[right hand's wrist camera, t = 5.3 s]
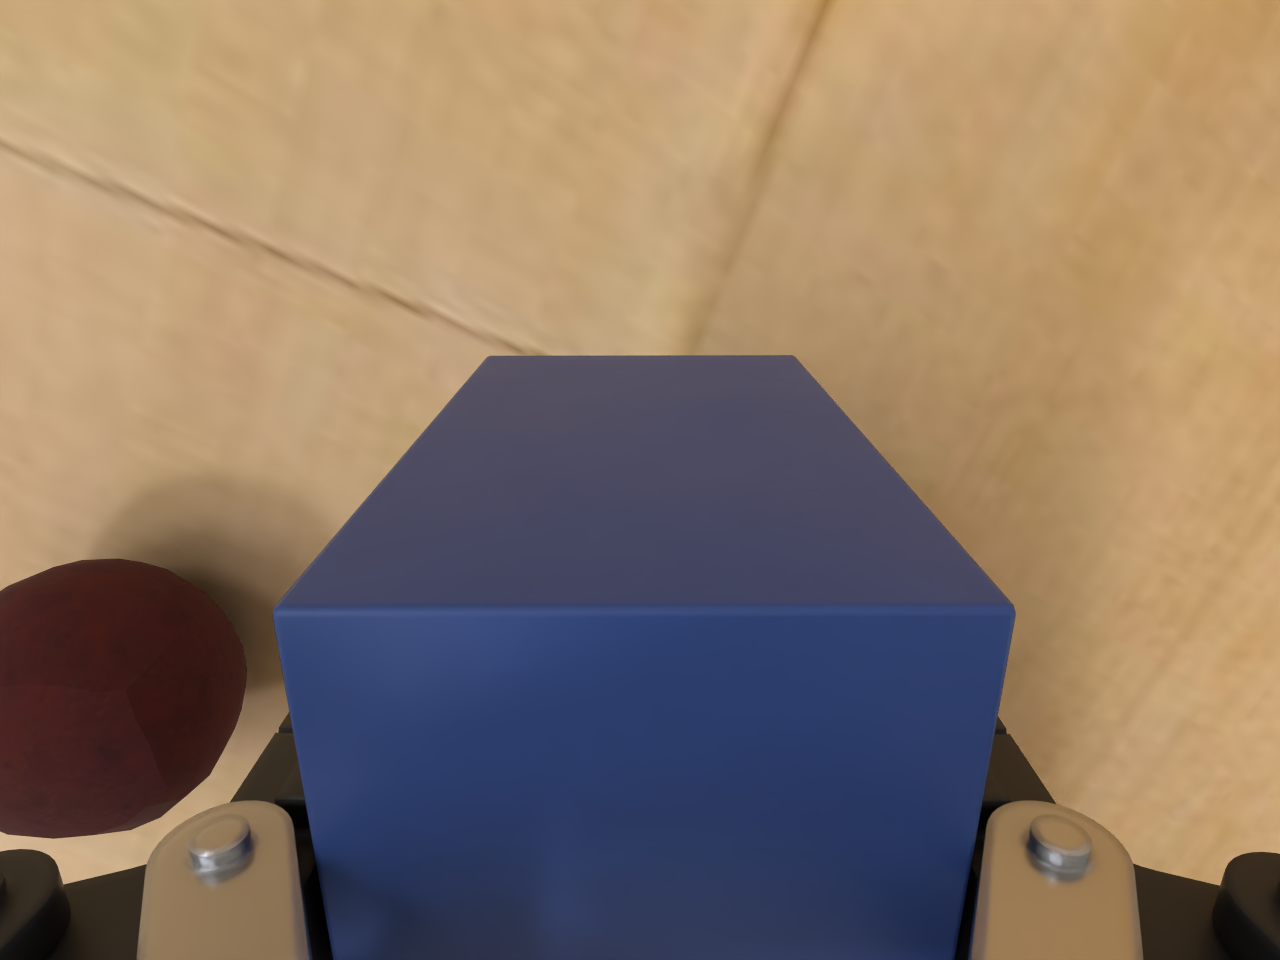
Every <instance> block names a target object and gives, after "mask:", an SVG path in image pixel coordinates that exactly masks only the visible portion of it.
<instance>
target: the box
mask: <svg viewBox="0 0 1280 960" xmlns="http://www.w3.org/2000/svg"><path fill="white" fill-rule="evenodd" d="M273 621H274V626H275V632H276V638H277V643H278V649H279V655H280V660H281V666H282V672H283V678H284V683H285V689H286V695H287V700H288V706H289V712H290V717H291V723H292V729H293V734H294V740H295V746H296V751H297V757H298V763H299V768H300V774H301V780H302V785H303V791H304V797H305V802H306V808H307V814H308V819H309V825H310V831H311V836H312V842H313V848H314V853H315V859H316V865H317V870H318V876H319V882H320V887H321V893H322V899H323V904H324V910H325V916H326V921H327V927H328V933H329V938H330V944H331V950H332V955H333V960H954V959H955V953H956V948H957V942H958V936H959V931H960V925H961V919H962V914H963V908H964V903H965V897H966V891H967V886H968V880H969V874H970V869H971V863H972V857H973V852H974V846H975V841H976V835H977V829H978V824H979V818H980V812H981V807H982V801H983V795H984V790H985V784H986V778H987V773H988V767H989V762H990V756H991V750H992V745H993V739H994V733H995V728H996V722H997V716H998V711H999V705H1000V700H1001V694H1002V688H1003V683H1004V677H1005V671H1006V666H1007V660H1008V654H1009V649H1010V643H1011V638H1012V632H1013V626H1014V621H1015V609H1014V606H1013V604H1012V603H1011V602H1010V601H1009V600H1008V598H1007V597H1006V596H1005V595H1004V594H1003V593H1002V592H1001V590H1000V589H999V588H998V587H997V586H996V585H995V584H994V583H993V581H992V580H991V579H990V578H989V577H988V576H987V575H986V573H985V572H984V571H983V570H982V569H981V568H980V567H979V565H978V564H977V563H976V562H975V561H974V560H973V559H972V557H971V556H970V555H969V554H968V553H967V552H966V551H965V550H964V548H963V547H962V546H961V545H960V544H959V543H958V542H957V540H956V539H955V538H954V537H953V536H952V535H951V534H950V532H949V531H948V530H947V529H946V528H945V527H944V526H943V525H942V523H941V522H940V521H939V520H938V519H937V518H936V517H935V515H934V514H933V513H932V512H931V511H930V510H929V509H928V507H927V506H926V505H925V504H924V503H923V502H922V501H921V499H920V498H919V497H918V496H917V495H916V494H915V493H914V492H913V490H912V489H911V488H910V487H909V486H908V485H907V484H906V482H905V481H904V480H903V479H902V478H901V477H900V476H899V474H898V473H897V472H896V471H895V470H894V469H893V468H892V467H891V465H890V464H889V463H888V462H887V461H886V460H885V459H884V457H883V456H882V455H881V454H880V453H879V452H878V451H877V449H876V448H875V447H874V446H873V445H872V444H871V443H870V442H869V440H868V439H867V438H866V437H865V436H864V435H863V434H862V432H861V431H860V430H859V429H858V428H857V427H856V426H855V424H854V423H853V422H852V421H851V420H850V419H849V418H848V416H847V415H846V414H845V413H844V412H843V411H842V410H841V409H840V407H839V406H838V405H837V404H836V403H835V402H834V401H833V399H832V398H831V397H830V396H829V395H828V394H827V393H826V391H825V390H824V389H823V388H822V387H821V386H820V385H819V384H818V382H817V381H816V380H815V379H814V378H813V377H812V376H811V374H810V373H809V372H808V371H807V370H806V369H805V368H804V366H803V365H802V364H801V363H800V362H799V361H798V360H797V359H796V357H794V356H792V355H777V356H489V357H487V358H486V359H485V360H484V362H483V363H482V364H481V365H480V366H479V367H478V369H477V370H476V371H475V372H474V373H473V374H472V376H471V377H470V378H469V379H468V380H467V381H466V383H465V384H464V385H463V386H462V387H461V389H460V390H459V391H458V392H457V393H456V394H455V396H454V397H453V398H452V399H451V400H450V401H449V403H448V404H447V405H446V406H445V407H444V408H443V410H442V411H441V412H440V413H439V414H438V415H437V417H436V418H435V419H434V420H433V421H432V423H431V424H430V425H429V426H428V427H427V428H426V430H425V431H424V432H423V433H422V434H421V435H420V437H419V438H418V439H417V440H416V441H415V442H414V444H413V445H412V446H411V447H410V448H409V450H408V451H407V452H406V453H405V454H404V455H403V457H402V458H401V459H400V460H399V461H398V462H397V464H396V465H395V466H394V467H393V468H392V469H391V471H390V472H389V473H388V474H387V475H386V476H385V478H384V479H383V480H382V481H381V482H380V484H379V485H378V486H377V487H376V488H375V489H374V491H373V492H372V493H371V494H370V495H369V496H368V498H367V499H366V500H365V501H364V502H363V503H362V505H361V506H360V507H359V508H358V509H357V510H356V512H355V513H354V514H353V515H352V516H351V518H350V519H349V520H348V521H347V522H346V523H345V525H344V526H343V527H342V528H341V529H340V530H339V532H338V533H337V534H336V535H335V536H334V537H333V539H332V540H331V541H330V542H329V543H328V544H327V546H326V547H325V548H324V549H323V550H322V552H321V553H320V554H319V555H318V556H317V557H316V559H315V560H314V561H313V562H312V563H311V564H310V566H309V567H308V568H307V569H306V570H305V571H304V573H303V574H302V575H301V576H300V577H299V579H298V580H297V581H296V582H295V583H294V584H293V586H292V587H291V588H290V589H289V590H288V591H287V593H286V594H285V595H284V596H283V597H282V598H281V600H280V601H279V602H278V603H277V604H276V605H275V607H274V611H273Z"/></svg>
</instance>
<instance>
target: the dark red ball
mask: <svg viewBox="0 0 1280 960" xmlns="http://www.w3.org/2000/svg"><path fill="white" fill-rule="evenodd" d="M246 675H247V668H246V663H245V657H244V652H243V646H242V644H241V642H240V640H239V638H238V636H237V635H236V633H235V631H234V629H233V627H232V626H231V624H230V622H229V620H228V618H227V617H226V615H225V614H224V612H223V611H222V610H221V609H220V608H219V607H218V606H217V604H216V603H215V602H214V601H213V600H212V599H210V598H209V597H208V596H207V595H206V594H204V593H203V592H202V591H201V590H199V589H198V588H196V587H195V586H193V585H192V584H190V583H189V582H187V581H185V580H184V579H182V578H180V577H179V576H177V575H176V574H174V573H172V572H171V571H169V570H167V569H164V568H160V567H157V566H153V565H150V564H146V563H142V562H136V561H130V560H124V559H100V560H81V561H77V562H73V563H69V564H65V565H61V566H57V567H53V568H51V569H48V570H46V571H43V572H41V573H38V574H36V575H34V576H31V577H29V578H26V579H24V580H21V581H19V582H17V583H14V584H12V585H9V586H7V587H6V588H4V589H3V590H2V591H0V831H1V832H3V833H5V834H9V835H20V836H31V837H42V838H53V839H54V838H65V837H77V836H88V835H97V834H104V833H112V832H119V831H126V830H132V829H134V828H136V827H139V826H141V825H144V824H146V823H148V822H151V821H153V820H155V819H158V818H160V817H161V816H163V815H164V814H165V813H166V812H167V811H169V810H170V809H171V808H172V807H173V806H175V805H176V804H177V803H178V802H179V801H181V800H182V799H183V798H184V797H185V796H187V795H188V794H189V793H190V792H191V791H192V790H193V789H195V788H196V787H197V786H198V785H199V784H200V783H201V782H202V781H204V780H205V779H206V778H207V777H208V776H209V775H210V774H211V772H212V770H213V768H214V766H215V765H216V763H217V761H218V759H219V757H220V756H221V754H222V752H223V750H224V748H225V746H226V745H227V743H228V741H229V739H230V737H231V735H232V733H233V731H234V729H235V727H236V724H237V721H238V718H239V715H240V712H241V709H242V703H243V698H244V692H245V687H246Z"/></svg>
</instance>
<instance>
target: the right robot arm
mask: <svg viewBox="0 0 1280 960" xmlns="http://www.w3.org/2000/svg"><path fill="white" fill-rule="evenodd" d="M0 960H333V955H332V950H331V944H330V938H329V933H328V927H327V921H326V916H325V910H324V904H323V899H322V893H321V887H320V882H319V876H318V870H317V865H316V859H315V853H314V848H313V842H312V836H311V831H310V825H309V819H308V814H307V808H306V802H305V797H304V791H303V785H302V780H301V774H300V768H299V763H298V757H297V751H296V746H295V740H294V734H293V729H292V723H291V717H290V712H289V713H288V715H287V716H286V718H285V719H284V721H283V722H282V724H281V725H280V727H279V733H275V735H274V736H273V738H272V739H271V741H270V742H269V744H268V745H267V747H266V748H265V750H264V751H263V753H262V754H261V756H260V757H259V759H258V760H257V762H256V763H255V765H254V767H253V768H252V770H251V771H250V773H249V774H248V776H247V777H246V779H245V780H244V782H243V783H242V785H241V786H240V788H239V789H238V791H237V792H236V794H235V795H234V797H233V798H232V800H231V802H230V803H227V804H223V805H220V806H217V807H214V808H211V809H208V810H206V811H203V812H201V813H199V814H197V815H195V816H193V817H191V818H190V819H188V820H186V821H184V822H183V823H182V824H180V825H179V826H177V827H176V828H174V829H173V830H172V831H171V832H170V833H169V834H167V835H166V836H165V837H164V838H163V839H162V840H161V842H160V843H159V844H158V845H157V846H156V848H155V849H154V851H153V852H152V854H151V856H150V858H149V860H148V862H147V864H146V865H142V866H139V867H135V868H132V869H128V870H123V871H119V872H115V873H111V874H106V875H102V876H98V877H94V878H90V879H85V880H81V881H77V882H73V883H69V884H64V885H63V882H62V879H61V876H60V872H59V869H58V866H57V864H56V862H55V860H54V859H53V858H51V857H50V856H49V855H47V854H45V853H43V852H40V851H36V850H28V849H17V850H7V851H2V852H0ZM954 960H1280V854H1277V853H1268V852H1252V853H1247V854H1242V855H1240V856H1238V857H1235V858H1234V859H1233V860H1232V861H1230V862H1229V863H1228V865H1227V867H1226V869H1225V872H1224V875H1223V879H1222V882H1221V885H1220V886H1218V885H1214V884H1210V883H1206V882H1201V881H1197V880H1193V879H1189V878H1185V877H1180V876H1176V875H1172V874H1168V873H1163V872H1159V871H1155V870H1152V869H1148V868H1145V867H1141V866H1139V865H1136V864H1133V862H1132V860H1131V858H1130V856H1129V854H1128V852H1127V851H1126V849H1125V848H1124V846H1123V845H1122V844H1121V843H1120V842H1119V841H1118V839H1117V838H1116V837H1115V836H1114V835H1113V834H1111V833H1110V832H1109V831H1108V830H1107V829H1106V828H1104V827H1103V826H1101V825H1100V824H1098V823H1097V822H1096V821H1094V820H1092V819H1090V818H1089V817H1087V816H1085V815H1083V814H1081V813H1079V812H1077V811H1074V810H1072V809H1069V808H1066V807H1063V806H1060V805H1057V804H1056V803H1055V801H1054V800H1053V798H1052V797H1051V795H1050V794H1049V792H1048V791H1047V789H1046V788H1045V786H1044V785H1043V783H1042V782H1041V780H1040V779H1039V777H1038V776H1037V774H1036V773H1035V771H1034V770H1033V768H1032V767H1031V765H1030V764H1029V762H1028V761H1027V759H1026V758H1025V756H1024V755H1023V753H1022V752H1021V750H1020V749H1019V747H1018V746H1017V744H1016V743H1015V741H1014V740H1013V738H1012V737H1011V735H1010V734H1007V733H1006V728H1005V726H1004V725H1003V723H1002V722H1001V720H1000V719H999V717H998V716H997V722H996V728H995V733H994V739H993V745H992V750H991V756H990V762H989V767H988V773H987V778H986V784H985V790H984V795H983V801H982V807H981V812H980V818H979V824H978V829H977V835H976V841H975V846H974V852H973V857H972V863H971V869H970V874H969V880H968V886H967V891H966V897H965V903H964V908H963V914H962V919H961V925H960V931H959V936H958V942H957V948H956V953H955V959H954Z"/></svg>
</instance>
